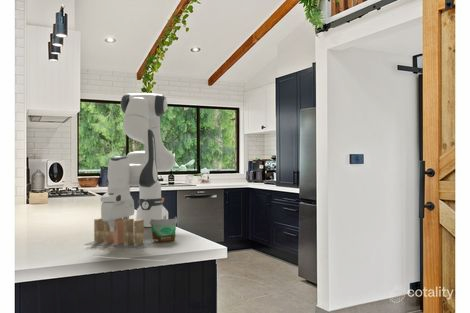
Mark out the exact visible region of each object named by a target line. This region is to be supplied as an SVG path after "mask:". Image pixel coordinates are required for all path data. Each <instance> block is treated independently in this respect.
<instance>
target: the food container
mask: <svg viewBox="0 0 470 313" xmlns="http://www.w3.org/2000/svg"><path fill="white" fill-rule="evenodd" d="M178 223H179V221H178V218H177V216H174V218H168V219H161V220H154V219H151V221H150V224H151V226H152V227H151V233H152V235H151V236H152V243H157V244H158V243H159V244H163V243H164V244H165V243H172V242H174V241H175V240H176V232H177V231H176V229H177V224H178Z"/></svg>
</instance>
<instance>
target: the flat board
mask: <svg viewBox="0 0 470 313" xmlns="http://www.w3.org/2000/svg"><path fill="white" fill-rule="evenodd" d="M152 244H154V242H145V241H144V244H142V245H140V246H134V243H133V244H131V245H128V246H124V243H122V244H119V245H114V242H113V243H111V244H108V245H106V244H104V242H102V243H99V244H94V241H90V242H88V243H85V244H83V245H84V246H97V247H113V248H117V247H118V248H130V249H131V248H132V249H144V248H147V247H148V246H150V245H152Z"/></svg>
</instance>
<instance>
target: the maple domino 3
mask: <svg viewBox="0 0 470 313" xmlns="http://www.w3.org/2000/svg"><path fill="white" fill-rule="evenodd" d="M134 221H135V220H134V218H129V219H128V220H124V246H128V245H131V244H133V243H134Z"/></svg>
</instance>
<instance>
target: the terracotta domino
mask: <svg viewBox="0 0 470 313" xmlns="http://www.w3.org/2000/svg"><path fill="white" fill-rule="evenodd" d="M114 226H115V227H116V231H114V245H119V244H122V243H124V218H121V219H117V220H115V223H114Z"/></svg>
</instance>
